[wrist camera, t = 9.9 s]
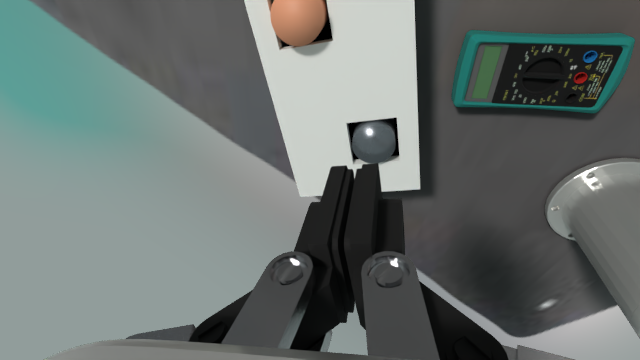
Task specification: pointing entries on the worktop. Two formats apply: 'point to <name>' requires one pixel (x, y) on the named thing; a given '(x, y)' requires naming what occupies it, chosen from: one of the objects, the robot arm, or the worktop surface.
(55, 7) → the worktop surface
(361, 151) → the charcoal plunger
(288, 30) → the orange rounded cylinder
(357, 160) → the panel
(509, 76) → the digital multimeter
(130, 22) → the worktop surface
